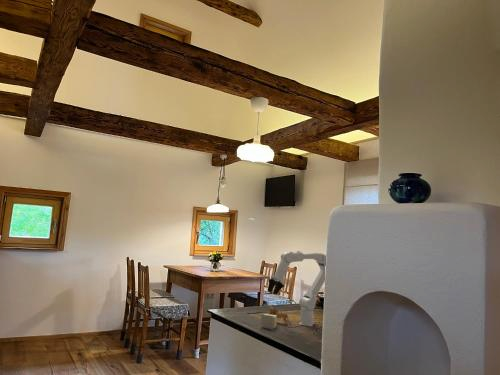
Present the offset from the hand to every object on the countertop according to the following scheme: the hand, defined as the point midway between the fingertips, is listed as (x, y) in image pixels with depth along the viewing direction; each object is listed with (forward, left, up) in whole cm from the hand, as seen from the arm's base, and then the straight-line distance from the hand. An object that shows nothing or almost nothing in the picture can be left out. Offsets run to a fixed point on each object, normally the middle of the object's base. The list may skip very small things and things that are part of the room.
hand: (271, 292), depth 219 cm
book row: (+1, 0, -19) cm, 19 cm away
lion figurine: (-9, +2, -19) cm, 21 cm away
